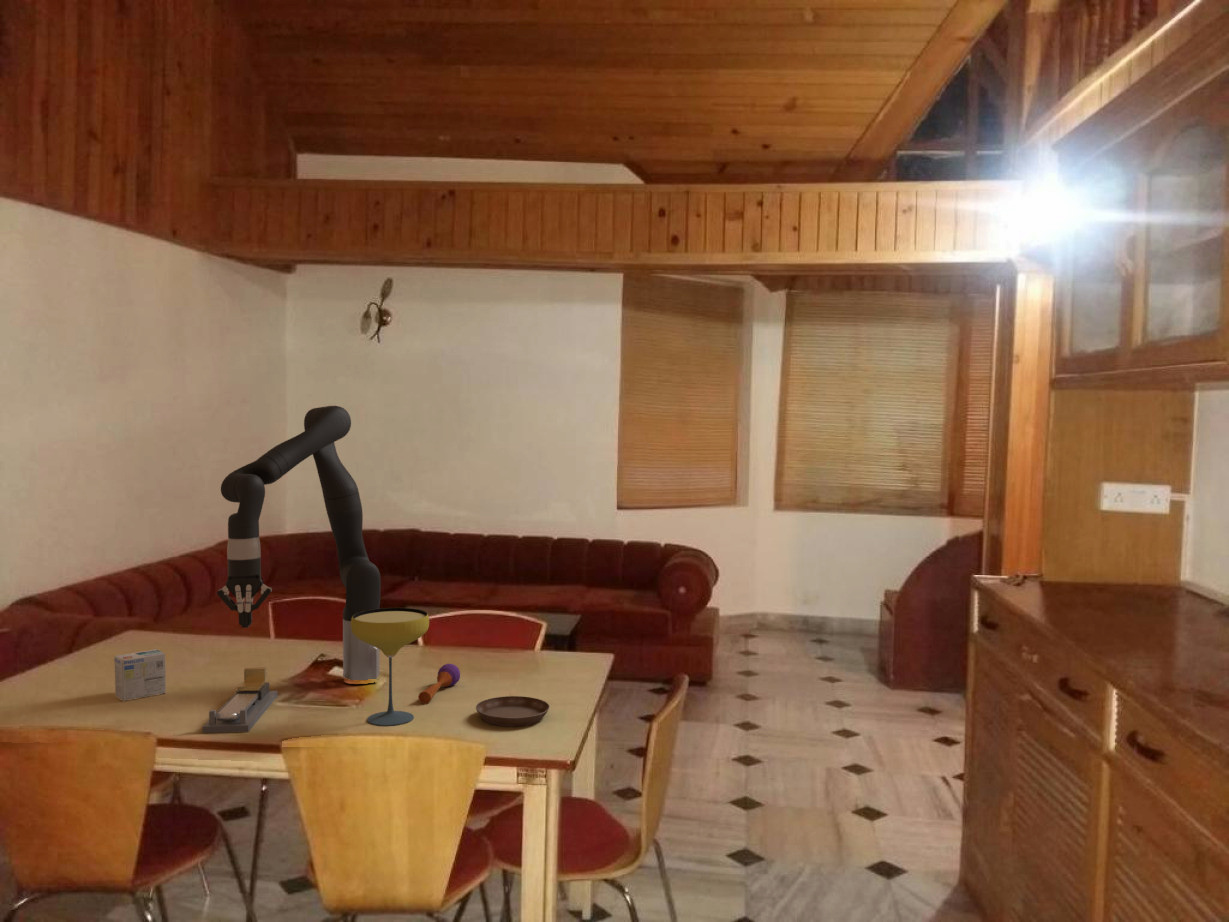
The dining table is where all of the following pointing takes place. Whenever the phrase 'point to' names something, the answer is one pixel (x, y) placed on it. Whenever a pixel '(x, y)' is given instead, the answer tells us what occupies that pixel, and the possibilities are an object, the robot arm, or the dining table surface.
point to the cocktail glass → (390, 645)
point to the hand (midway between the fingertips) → (245, 626)
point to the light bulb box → (140, 674)
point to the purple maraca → (441, 682)
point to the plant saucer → (512, 710)
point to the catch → (253, 679)
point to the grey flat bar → (236, 706)
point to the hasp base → (242, 713)
